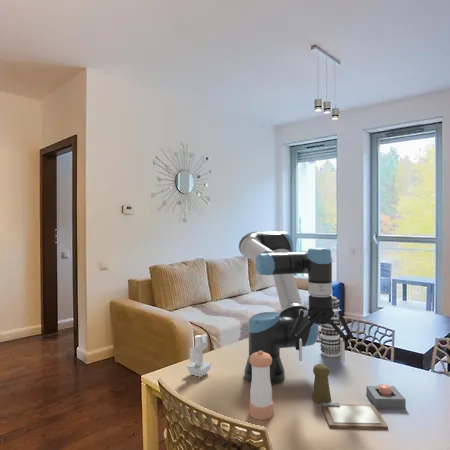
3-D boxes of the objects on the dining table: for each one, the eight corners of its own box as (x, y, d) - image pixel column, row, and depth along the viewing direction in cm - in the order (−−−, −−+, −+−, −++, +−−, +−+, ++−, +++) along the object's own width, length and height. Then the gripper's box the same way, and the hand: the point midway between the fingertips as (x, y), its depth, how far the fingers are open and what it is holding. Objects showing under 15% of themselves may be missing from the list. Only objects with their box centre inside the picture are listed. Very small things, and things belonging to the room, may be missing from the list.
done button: (381, 397, 116) (381, 389, 116) (377, 391, 119) (376, 384, 119) (393, 397, 115) (393, 389, 115) (389, 391, 119) (388, 384, 119)
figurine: (184, 376, 139) (183, 337, 139) (199, 368, 147) (198, 331, 146) (199, 381, 135) (198, 340, 135) (213, 372, 143) (213, 333, 143)
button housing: (375, 408, 113) (375, 398, 113) (366, 394, 122) (366, 385, 122) (405, 408, 113) (405, 399, 113) (394, 395, 122) (394, 386, 122)
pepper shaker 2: (331, 404, 116) (331, 369, 116) (312, 402, 117) (312, 368, 117) (330, 395, 122) (329, 362, 122) (311, 393, 123) (311, 361, 123)
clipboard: (329, 427, 103) (329, 422, 103) (321, 406, 115) (321, 402, 115) (388, 429, 102) (388, 424, 102) (373, 407, 114) (373, 403, 114)
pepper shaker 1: (271, 407, 115) (270, 346, 115) (275, 419, 108) (274, 354, 107) (248, 407, 115) (247, 347, 115) (250, 420, 107) (249, 355, 107)
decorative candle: (329, 358, 155) (328, 299, 155) (315, 351, 163) (314, 296, 163) (346, 355, 158) (345, 297, 158) (331, 348, 167) (331, 294, 167)
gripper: (282, 297, 117) (284, 363, 116) (362, 297, 115) (364, 364, 115) (280, 293, 124) (282, 355, 124) (355, 292, 122) (357, 356, 122)
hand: (321, 360), depth 119 cm, fingers open, 13 cm apart
